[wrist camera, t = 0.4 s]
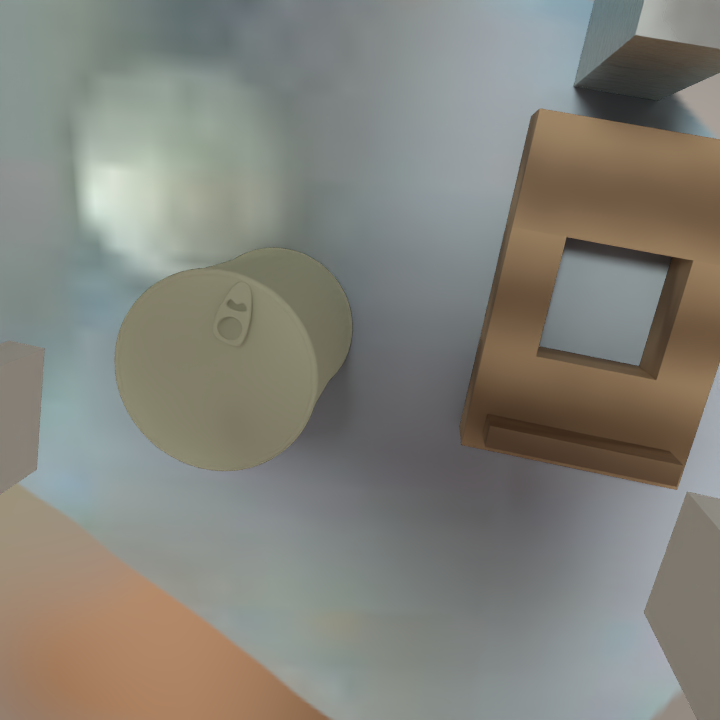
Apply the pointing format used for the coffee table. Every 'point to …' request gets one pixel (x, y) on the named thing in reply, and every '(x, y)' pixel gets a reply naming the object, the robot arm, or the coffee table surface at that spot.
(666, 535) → the coffee table surface
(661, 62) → the grey square block
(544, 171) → the jig
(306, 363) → the can
